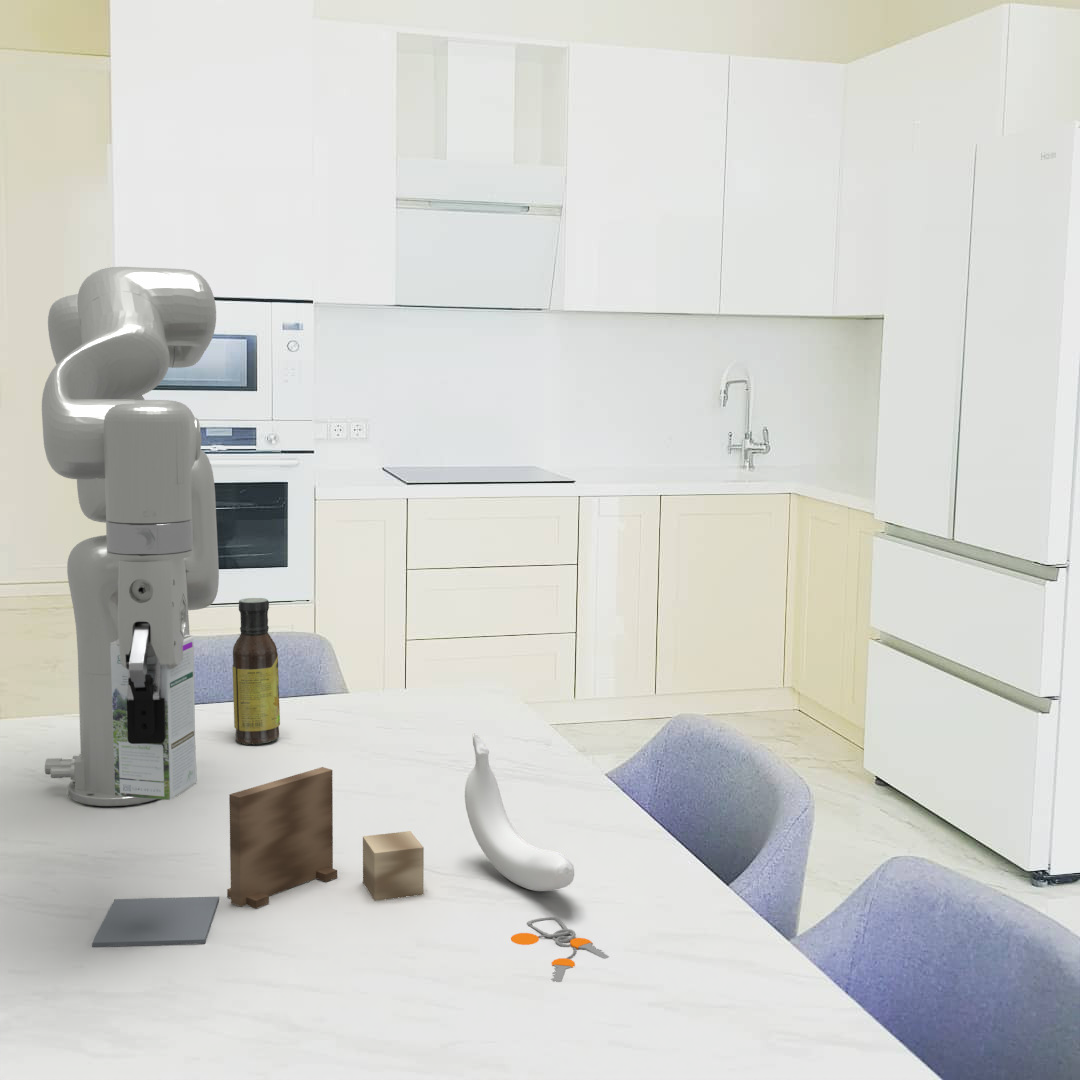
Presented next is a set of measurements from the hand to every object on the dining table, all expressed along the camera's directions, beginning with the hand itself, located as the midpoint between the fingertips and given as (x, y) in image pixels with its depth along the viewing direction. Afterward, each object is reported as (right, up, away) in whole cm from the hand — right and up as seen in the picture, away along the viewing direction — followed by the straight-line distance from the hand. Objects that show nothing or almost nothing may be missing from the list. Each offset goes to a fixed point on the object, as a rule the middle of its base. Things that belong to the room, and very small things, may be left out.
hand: (154, 730), depth 125 cm
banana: (+34, -18, +13) cm, 40 cm away
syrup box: (0, -6, +1) cm, 6 cm away
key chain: (+37, -20, -1) cm, 42 cm away
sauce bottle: (-4, -11, +64) cm, 65 cm away
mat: (0, -19, +3) cm, 19 cm away
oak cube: (+21, -18, +12) cm, 30 cm away
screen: (+10, -18, +12) cm, 23 cm away
